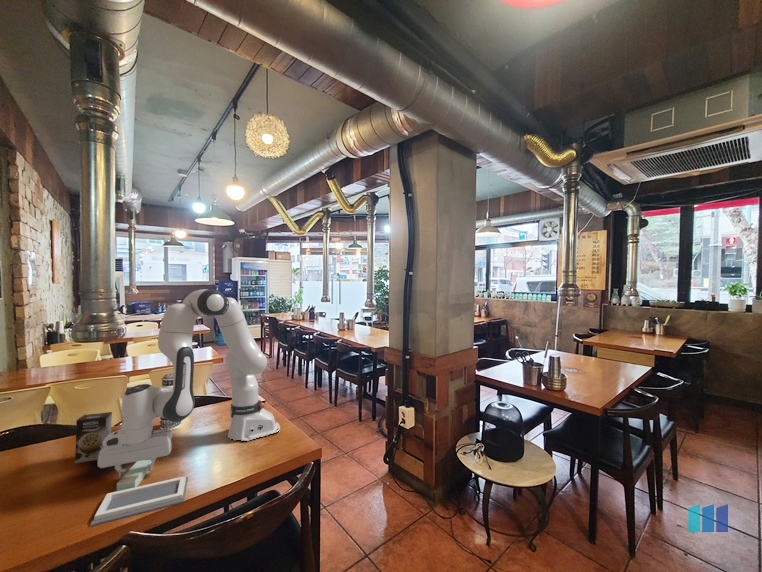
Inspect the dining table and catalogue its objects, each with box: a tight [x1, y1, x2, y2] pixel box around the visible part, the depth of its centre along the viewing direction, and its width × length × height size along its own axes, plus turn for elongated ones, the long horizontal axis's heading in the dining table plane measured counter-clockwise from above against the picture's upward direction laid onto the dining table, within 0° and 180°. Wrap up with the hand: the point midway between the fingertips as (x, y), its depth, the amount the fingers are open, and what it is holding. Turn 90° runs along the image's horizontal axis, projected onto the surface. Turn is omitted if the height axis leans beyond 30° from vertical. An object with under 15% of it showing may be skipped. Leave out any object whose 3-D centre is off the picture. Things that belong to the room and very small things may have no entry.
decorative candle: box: [159, 372, 182, 431], centre depth 149 cm, size 9×9×25 cm
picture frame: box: [89, 475, 189, 527], centre depth 98 cm, size 22×14×2 cm, turn 117°
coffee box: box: [74, 411, 113, 464], centre depth 122 cm, size 9×6×16 cm
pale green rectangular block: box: [116, 459, 152, 491], centre depth 109 cm, size 5×14×3 cm, turn 16°
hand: (136, 473), depth 109 cm, fingers open, 6 cm apart
